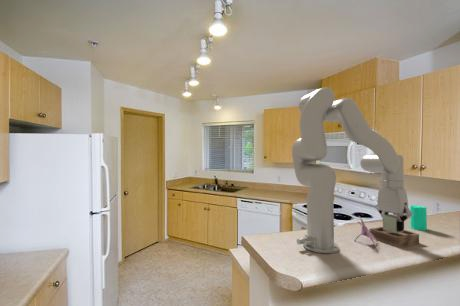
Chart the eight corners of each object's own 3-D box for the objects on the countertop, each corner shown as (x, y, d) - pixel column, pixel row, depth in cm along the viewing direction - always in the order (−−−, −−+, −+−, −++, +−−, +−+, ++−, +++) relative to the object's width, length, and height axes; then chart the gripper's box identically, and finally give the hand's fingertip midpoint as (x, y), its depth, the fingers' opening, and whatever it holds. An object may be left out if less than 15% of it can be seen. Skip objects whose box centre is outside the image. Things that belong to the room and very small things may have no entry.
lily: (364, 253, 86) (379, 231, 85) (338, 232, 96) (351, 212, 94) (378, 255, 93) (391, 235, 92) (352, 235, 103) (364, 217, 101)
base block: (398, 248, 89) (398, 237, 89) (369, 238, 100) (369, 228, 100) (419, 244, 93) (418, 234, 93) (389, 234, 104) (389, 225, 104)
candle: (429, 230, 108) (429, 204, 108) (415, 230, 109) (415, 204, 109) (421, 226, 114) (421, 202, 114) (407, 226, 115) (407, 201, 115)
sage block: (395, 233, 93) (394, 217, 93) (383, 229, 98) (382, 215, 98) (403, 231, 95) (403, 216, 95) (391, 228, 100) (391, 213, 100)
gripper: (367, 182, 103) (367, 224, 103) (408, 187, 87) (409, 236, 87) (379, 181, 106) (379, 222, 106) (421, 186, 90) (422, 234, 90)
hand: (393, 228), depth 96 cm, fingers closed on sage block, 5 cm apart
